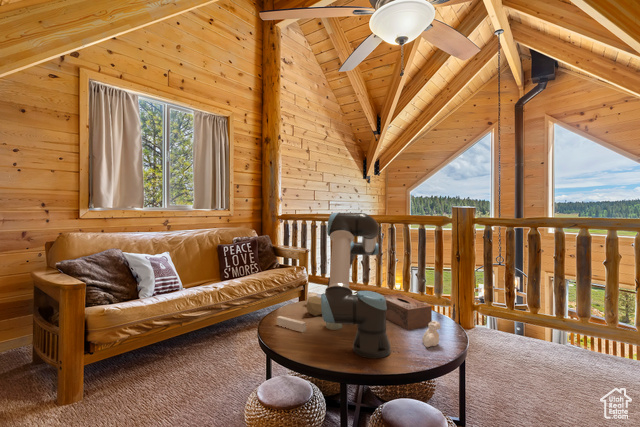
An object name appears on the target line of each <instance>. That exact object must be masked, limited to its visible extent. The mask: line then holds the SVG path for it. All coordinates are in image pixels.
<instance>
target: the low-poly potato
mask: <svg viewBox="0 0 640 427" xmlns="http://www.w3.org/2000/svg"><path fill="white" fill-rule="evenodd" d="M305 308H306V311H307V312H308V314H310V315H312V316H315V317H316V316H320V315H321V316H322V309H321V296H318V295H317V296H313V297H309V299H308V302H306V305H305Z"/></svg>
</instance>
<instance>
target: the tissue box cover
mask: <svg viewBox="0 0 640 427" xmlns="http://www.w3.org/2000/svg"><path fill="white" fill-rule="evenodd" d="M382 295H383V294H382ZM383 296H384V297H385V299H386V307H387V309H386V320H389V321H390V322H393V324H396V325H398V326H400V327H402V328H403V329H405V330H407V331H409V330H416V329H421V327H422V328H427V327H428V324H429V323H430V322H432V321H433V320H432V317H433V315H432V314H433V313H432V312H433V311H432V308H433V307H432V305H430V304H427V303H425V302H422V301H420V300H417V299H415V298H411V297H410V296H407V295H404V294H402V293H400V292H399V293H391V294H384V295H383ZM426 326H427V327H426Z"/></svg>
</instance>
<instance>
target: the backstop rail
mask: <svg viewBox="0 0 640 427" xmlns="http://www.w3.org/2000/svg"><path fill="white" fill-rule="evenodd" d="M277 325H279V326H278V327H281V326H282V328H285V327H286V329H288V328H289V330H293V331H297V332H300V333H305V332H306V325H307V324H306V322H305V321H302V320H298V319H294V318H289V317H285V316H283V315H282V316H281V315H279V316H277V317H276V326H277Z"/></svg>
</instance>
